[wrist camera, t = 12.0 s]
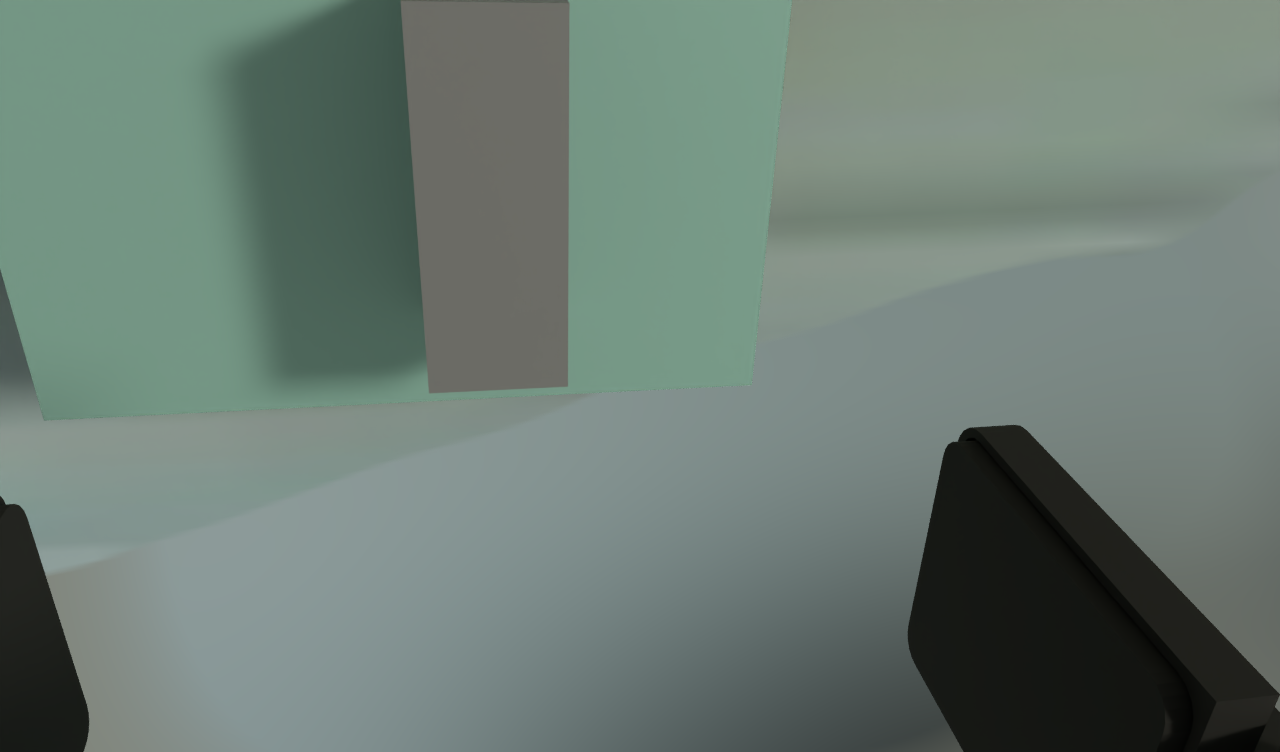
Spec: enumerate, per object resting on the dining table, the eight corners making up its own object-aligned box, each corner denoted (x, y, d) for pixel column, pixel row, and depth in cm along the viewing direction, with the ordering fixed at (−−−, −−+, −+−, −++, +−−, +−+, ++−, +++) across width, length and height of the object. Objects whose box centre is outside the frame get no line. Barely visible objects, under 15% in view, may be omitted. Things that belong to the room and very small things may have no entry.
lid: (60, 396, 26) (-22, 518, 21) (-101, -185, 19) (-264, -185, 15) (740, 364, 29) (795, 465, 24) (790, -149, 22) (876, -140, 18)
